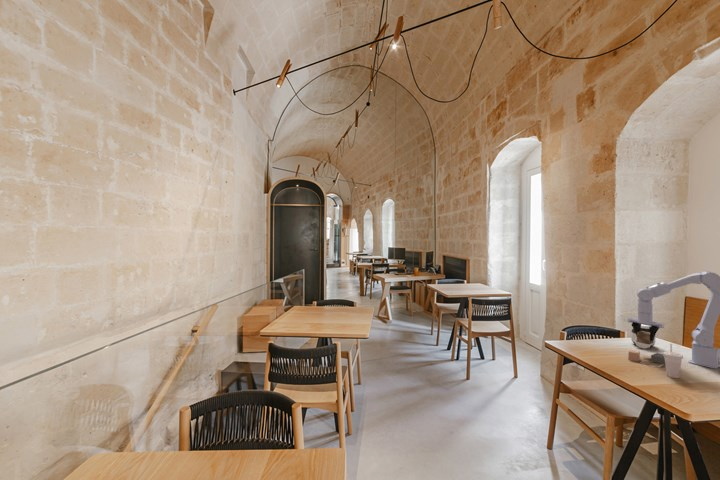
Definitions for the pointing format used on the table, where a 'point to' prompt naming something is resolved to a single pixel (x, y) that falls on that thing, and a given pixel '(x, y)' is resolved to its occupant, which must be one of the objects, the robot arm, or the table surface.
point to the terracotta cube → (634, 355)
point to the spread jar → (634, 337)
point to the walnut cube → (644, 337)
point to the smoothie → (672, 363)
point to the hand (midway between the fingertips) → (645, 339)
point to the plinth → (658, 358)
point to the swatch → (652, 363)
